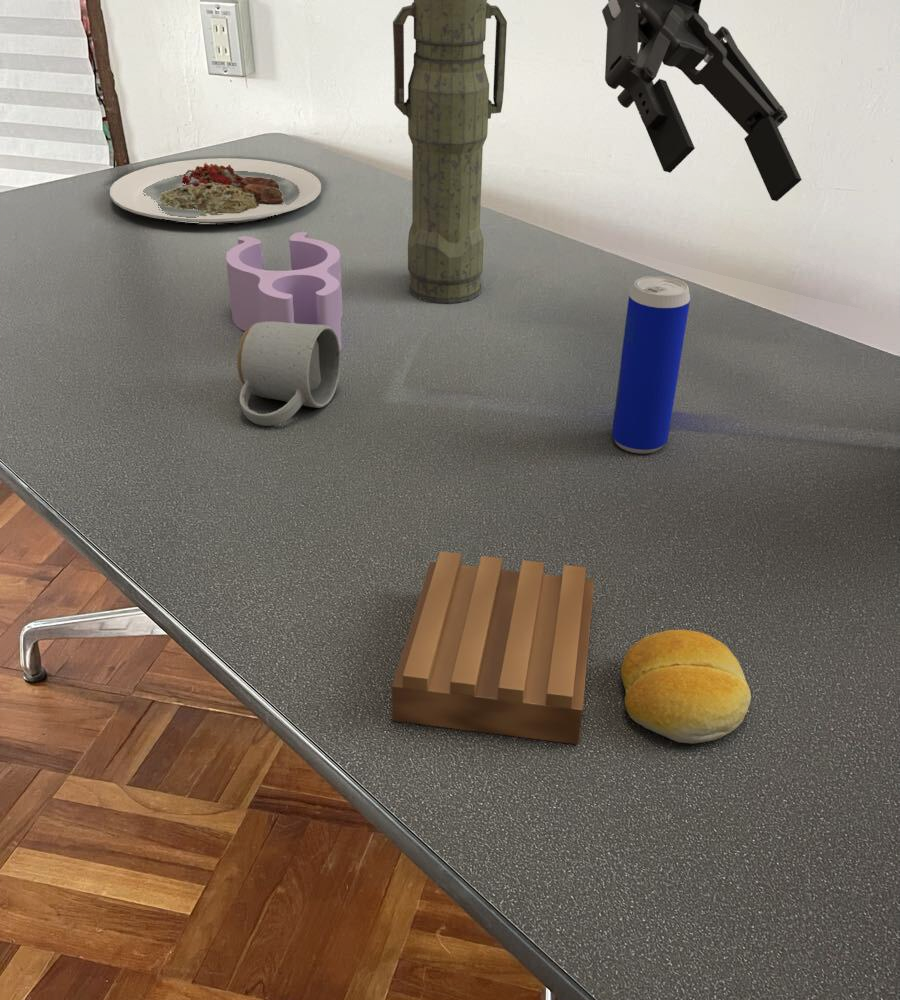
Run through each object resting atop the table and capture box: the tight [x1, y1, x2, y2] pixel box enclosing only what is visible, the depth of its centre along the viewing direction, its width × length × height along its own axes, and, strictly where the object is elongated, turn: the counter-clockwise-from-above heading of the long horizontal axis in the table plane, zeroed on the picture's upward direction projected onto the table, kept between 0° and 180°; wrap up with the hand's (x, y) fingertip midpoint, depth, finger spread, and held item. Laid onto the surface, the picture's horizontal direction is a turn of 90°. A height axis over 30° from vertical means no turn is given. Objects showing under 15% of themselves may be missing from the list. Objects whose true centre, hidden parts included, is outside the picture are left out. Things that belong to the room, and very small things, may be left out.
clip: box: [225, 231, 344, 352], centre depth 118 cm, size 20×12×7 cm, turn 17°
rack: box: [391, 550, 595, 745], centre depth 73 cm, size 12×14×4 cm
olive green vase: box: [392, 0, 508, 304], centre depth 119 cm, size 9×12×35 cm
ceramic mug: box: [236, 321, 342, 427], centre depth 102 cm, size 11×8×8 cm
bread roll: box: [620, 629, 752, 744], centre depth 70 cm, size 8×9×4 cm
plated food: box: [109, 157, 322, 224], centre depth 155 cm, size 30×30×3 cm
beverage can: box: [611, 275, 691, 455], centre depth 95 cm, size 5×5×15 cm
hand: (735, 176), depth 86 cm, fingers open, 13 cm apart
